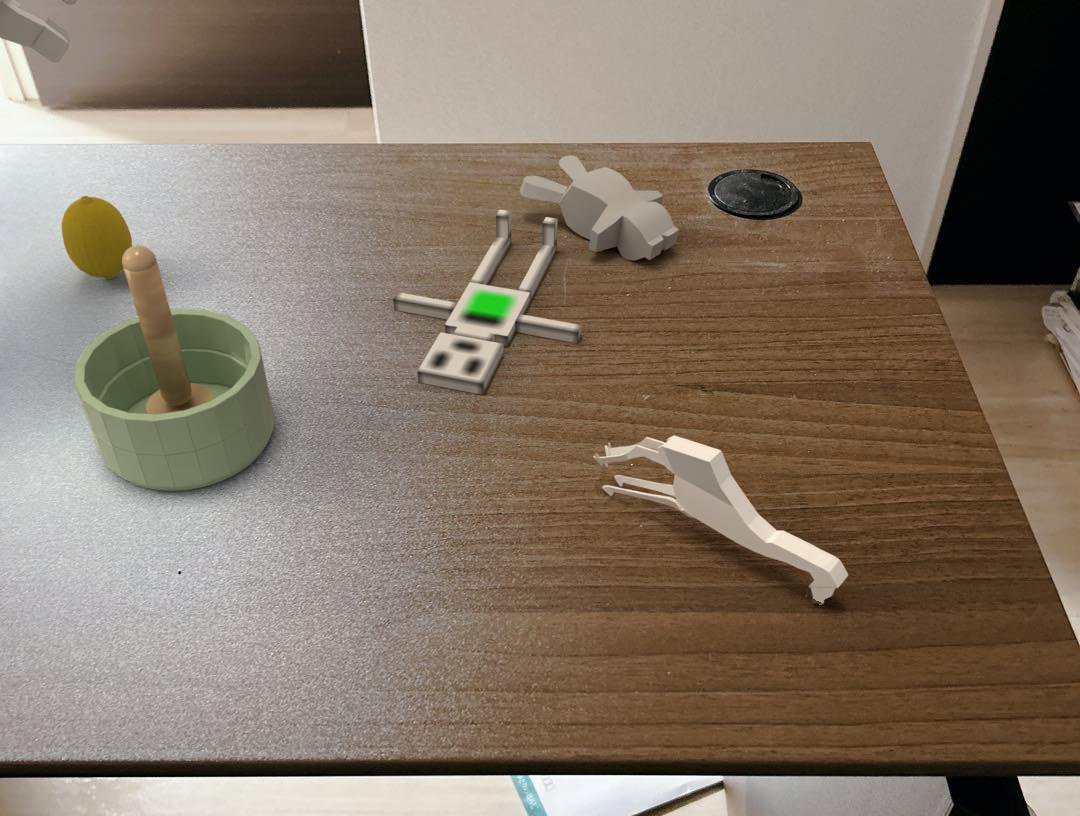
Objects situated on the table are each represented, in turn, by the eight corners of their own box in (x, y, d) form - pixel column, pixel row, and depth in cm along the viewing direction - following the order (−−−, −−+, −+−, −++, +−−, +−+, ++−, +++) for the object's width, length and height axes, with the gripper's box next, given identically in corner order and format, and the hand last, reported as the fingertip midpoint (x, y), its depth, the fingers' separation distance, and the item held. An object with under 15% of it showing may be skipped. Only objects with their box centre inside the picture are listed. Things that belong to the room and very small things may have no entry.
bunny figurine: (635, 243, 98) (512, 165, 104) (626, 290, 102) (507, 213, 108) (701, 202, 103) (580, 130, 109) (690, 249, 107) (573, 177, 113)
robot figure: (444, 231, 107) (354, 370, 92) (442, 200, 104) (350, 336, 90) (614, 260, 104) (549, 407, 89) (616, 228, 101) (550, 374, 87)
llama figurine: (625, 566, 86) (841, 612, 74) (585, 438, 80) (811, 466, 68) (639, 552, 87) (854, 595, 75) (600, 425, 81) (825, 450, 69)
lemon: (67, 276, 101) (39, 194, 95) (124, 254, 103) (101, 174, 98) (94, 303, 98) (67, 221, 92) (152, 281, 101) (130, 199, 95)
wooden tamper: (144, 448, 84) (85, 267, 73) (164, 405, 88) (110, 226, 76) (210, 452, 84) (161, 270, 73) (227, 409, 88) (183, 229, 76)
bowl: (75, 488, 82) (46, 414, 77) (132, 377, 91) (109, 304, 86) (251, 498, 82) (233, 425, 77) (291, 386, 91) (278, 313, 85)
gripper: (-124, -144, 78) (65, -4, 86) (-206, -31, 64) (29, 123, 72) (-81, -222, 75) (110, -69, 83) (-156, -122, 61) (82, 49, 70)
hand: (72, 21), depth 78 cm, fingers open, 8 cm apart
